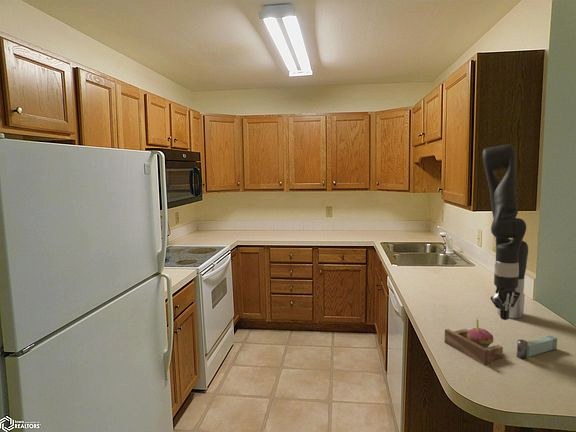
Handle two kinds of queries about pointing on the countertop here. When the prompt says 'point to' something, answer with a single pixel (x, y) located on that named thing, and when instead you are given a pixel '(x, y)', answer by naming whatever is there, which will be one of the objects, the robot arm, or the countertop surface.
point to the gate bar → (541, 345)
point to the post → (522, 349)
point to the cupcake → (480, 336)
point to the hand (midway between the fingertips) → (504, 318)
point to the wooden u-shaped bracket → (472, 347)
